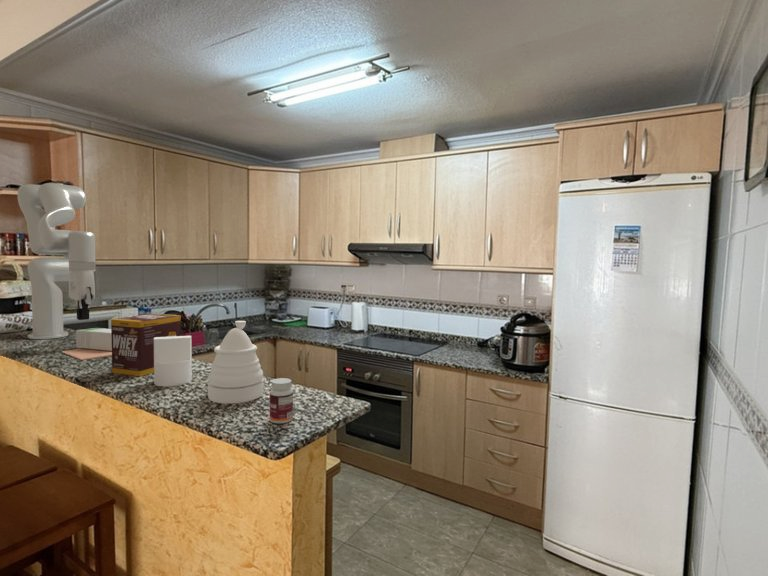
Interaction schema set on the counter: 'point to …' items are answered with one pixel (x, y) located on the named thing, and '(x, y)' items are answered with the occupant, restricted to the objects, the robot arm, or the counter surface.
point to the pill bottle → (281, 401)
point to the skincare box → (94, 339)
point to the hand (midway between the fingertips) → (83, 319)
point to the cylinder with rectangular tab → (172, 360)
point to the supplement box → (139, 341)
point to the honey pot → (235, 369)
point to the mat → (87, 353)
